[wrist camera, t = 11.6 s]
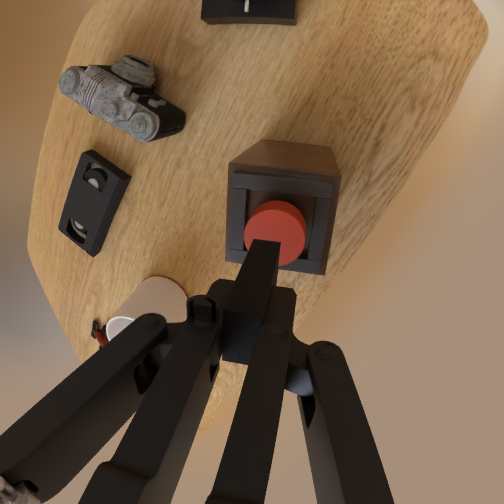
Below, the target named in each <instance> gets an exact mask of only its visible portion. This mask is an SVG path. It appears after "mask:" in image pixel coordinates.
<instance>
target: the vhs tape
mask: <svg viewBox="0 0 504 504" xmlns="http://www.w3.org/2000/svg"><path fill="white" fill-rule="evenodd" d="M130 179H131V176H129V175H128V174H127V173H125V172H124V171H122V170H121V169H119V168H118V167H116V166H115V165H114V164H112V163H111V162H109V161H108V160H106V159H105V158H103V157H102V156H101V155H99V154H98V153H96V152H95V151H93V150H89V151H86V152H83V153H82V154H81V157H80V160H79V163H78V165H77V168H76V171H75V174H74V177H73V180H72V183H71V186H70V189H69V192H68V195H67V199H66V202H65V205H64V209H63V212H62V216H61V219H60V223H59V227H58V228H59V230H60V231H61V232H62V233H63V234H65V235H66V236H67V237H68V238H70V239H71V240H72V241H73V242H75V243H76V244H77V245H78V246H80V247H81V248H82V249H83V250H85V251H86V252H87V253H88V254H89V255H91V256H92V257H94V256H96V255H97V254H98V253H99V252H100V250H101V248H102V245H103V243H104V240H105V237H106V235H107V232H108V230H109V227H110V225H111V222H112V220H113V217H114V215H115V213H116V211H117V208H118V206H119V204H120V201H121V199H122V197H123V195H124V192H125V190H126V188H127V186H128V183H129V181H130Z"/></svg>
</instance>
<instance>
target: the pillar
mask: <svg viewBox="0 0 504 504" xmlns="http://www.w3.org/2000/svg"><path fill="white" fill-rule="evenodd" d="M340 182H341V174H340V171H339V168H338V165H337V163H336V160H335V157H334V155H333V152H332V149H331V147H324V146H316V145H309V144H300V143H292V142H282V141H273V140H260V141H259V142H257V143H256V144H254V145H253V146H252V147H250V148H249V149H247V150H246V151H244V152H243V153H242V154H240V155H239V156H238V157H236V158H235V159H233V160H232V161H231V162H229V165H228V190H227V218H226V251H225V261H226V262H233V263H240V264H243V262H244V260H245V257H246V255H247V253H248V250H247V248H246V246H245V242H244V230H245V227H246V225H247V223H248V221H249V219H250V217H251V215H252V214H253V212H254V211H255V209H256V208H257V207H259V206H260V205H261V204H263V203H265V202H268V201H274V200H278V201H284V202H288V203H290V204H292V205H293V206H295V207H296V208H297V209H298V210H299V211H300V212H301V214H302V215H303V217H304V219H305V223H306V236H305V245H304V248H303V251H302V252H301V254H300V255H299V256H298V257H297V258H296V259H295V260H294V261H292V262H291V263H289V264H286V265H282V266H278V269H282V270H289V271H296V272H303V273H310V274H317V275H325V271H326V266H327V261H328V256H329V250H330V244H331V239H332V233H333V227H334V221H335V215H336V209H337V202H338V196H339V189H340Z"/></svg>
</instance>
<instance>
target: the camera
mask: <svg viewBox="0 0 504 504" xmlns="http://www.w3.org/2000/svg"><path fill="white" fill-rule="evenodd" d="M153 70H154V66H153V65H151V64H150V63H148V62H146V61H144V60H142V59H140V58H137V57H134V56H131V55H125V56H124V57H123V58H120V59H119V61H114V63H113V65H112V66H106V65H89V66H71V67H69V68H68V69H67V70H66V71H65V72H64V73H63V74H62V75H61V77H60V79H59V87H60V92H61V93H63V94H64V95H66V96H68V97H69V98H71V99H72V100H74V101H75V102H77V103H78V104H80V105H81V106H82V108H85V109H86V110H88V111H89V113H91V114H93V115H94V116H96V117H99V118H101V119H102V120H104V121H105V122H112V124H111V126H112V127H115V126H118V127H119V128H121V129H122V130H124V131H125V132H127V133H128V134H130V135H131V136H133V137H134V138H136V139H137V140H139V141H140V142H142V143H144V142H151V141H154V140H157V139H161V138H164V137H167V136H171V135H174V134H177V133H179V132H180V131H181V130H182V129H183V127H184V125H185V122H186V114H185V112H184V111H183V110H181V109H179V108H178V107H176V106H175V105H173V104H172V103H170V102H168V101H167V100H165V99H164V98H162V97H161V96H159V95H157V94H156V93H154V92H155V89H156V86H155V85H154V84H153V82H154V81H155V77H154V74H155V73H154V72H153Z"/></svg>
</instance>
